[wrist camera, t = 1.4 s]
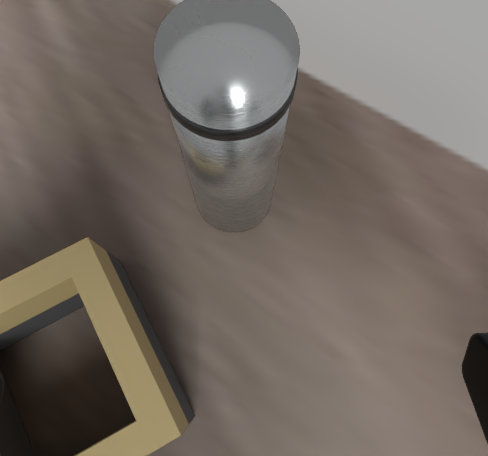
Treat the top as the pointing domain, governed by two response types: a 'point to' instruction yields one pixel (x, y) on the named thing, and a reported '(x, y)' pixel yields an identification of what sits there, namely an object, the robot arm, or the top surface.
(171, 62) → the metal tumbler
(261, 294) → the top surface
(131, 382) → the collar block
